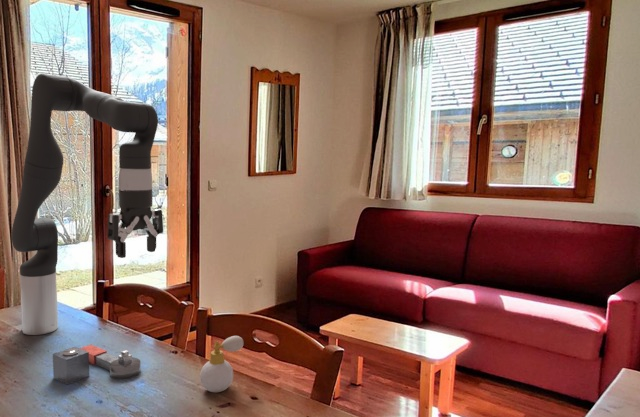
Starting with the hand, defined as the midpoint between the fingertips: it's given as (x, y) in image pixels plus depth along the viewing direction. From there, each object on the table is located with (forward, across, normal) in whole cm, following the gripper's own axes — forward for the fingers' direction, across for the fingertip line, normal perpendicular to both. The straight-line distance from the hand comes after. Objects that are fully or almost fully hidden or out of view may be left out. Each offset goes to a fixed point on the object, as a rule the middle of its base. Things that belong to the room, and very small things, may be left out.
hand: (136, 254), depth 123 cm
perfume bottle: (+29, -5, +23) cm, 38 cm away
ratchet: (+29, +3, -8) cm, 30 cm away
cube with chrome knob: (+29, +12, -9) cm, 33 cm away
